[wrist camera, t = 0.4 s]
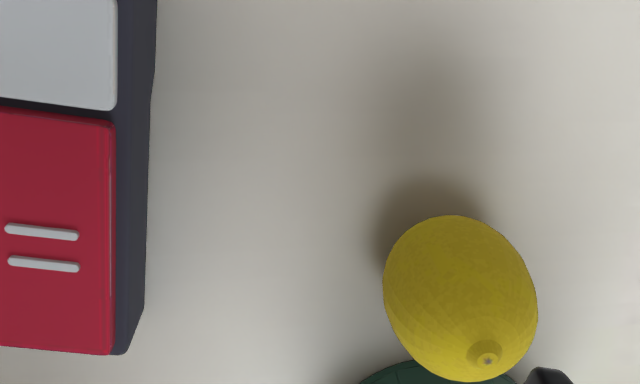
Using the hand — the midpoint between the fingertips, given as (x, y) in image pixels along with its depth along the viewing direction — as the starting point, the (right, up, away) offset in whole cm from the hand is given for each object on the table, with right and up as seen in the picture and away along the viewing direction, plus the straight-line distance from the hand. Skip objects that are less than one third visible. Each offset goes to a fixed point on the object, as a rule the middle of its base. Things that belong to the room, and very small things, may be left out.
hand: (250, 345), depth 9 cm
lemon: (+6, 0, +17) cm, 18 cm away
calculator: (-11, +4, +14) cm, 19 cm away
